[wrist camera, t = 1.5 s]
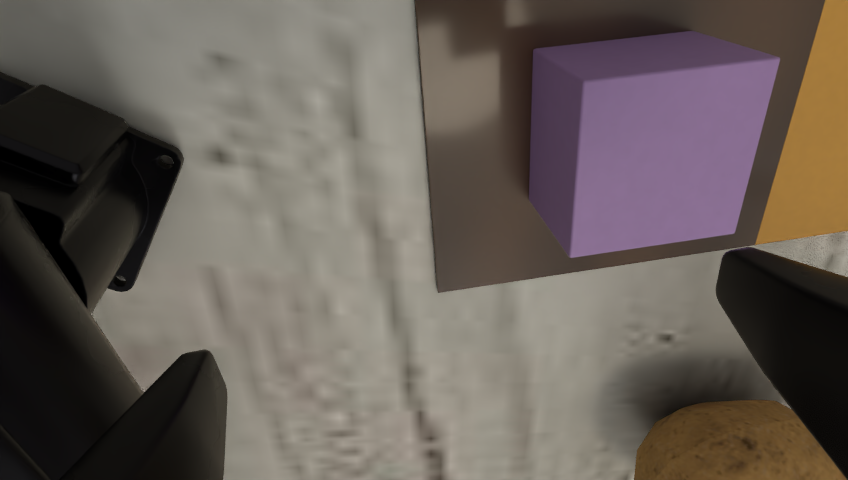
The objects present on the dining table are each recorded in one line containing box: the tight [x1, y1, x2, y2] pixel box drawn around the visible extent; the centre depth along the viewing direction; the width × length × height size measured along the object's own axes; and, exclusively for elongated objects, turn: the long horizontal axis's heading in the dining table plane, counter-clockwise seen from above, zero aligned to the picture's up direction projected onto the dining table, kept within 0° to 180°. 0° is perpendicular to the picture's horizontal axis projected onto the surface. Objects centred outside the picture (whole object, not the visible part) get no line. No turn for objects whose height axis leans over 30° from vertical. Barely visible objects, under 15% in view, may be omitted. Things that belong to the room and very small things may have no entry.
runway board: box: [415, 0, 825, 293], centre depth 21 cm, size 15×14×1 cm
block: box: [529, 31, 780, 258], centre depth 19 cm, size 6×6×4 cm
